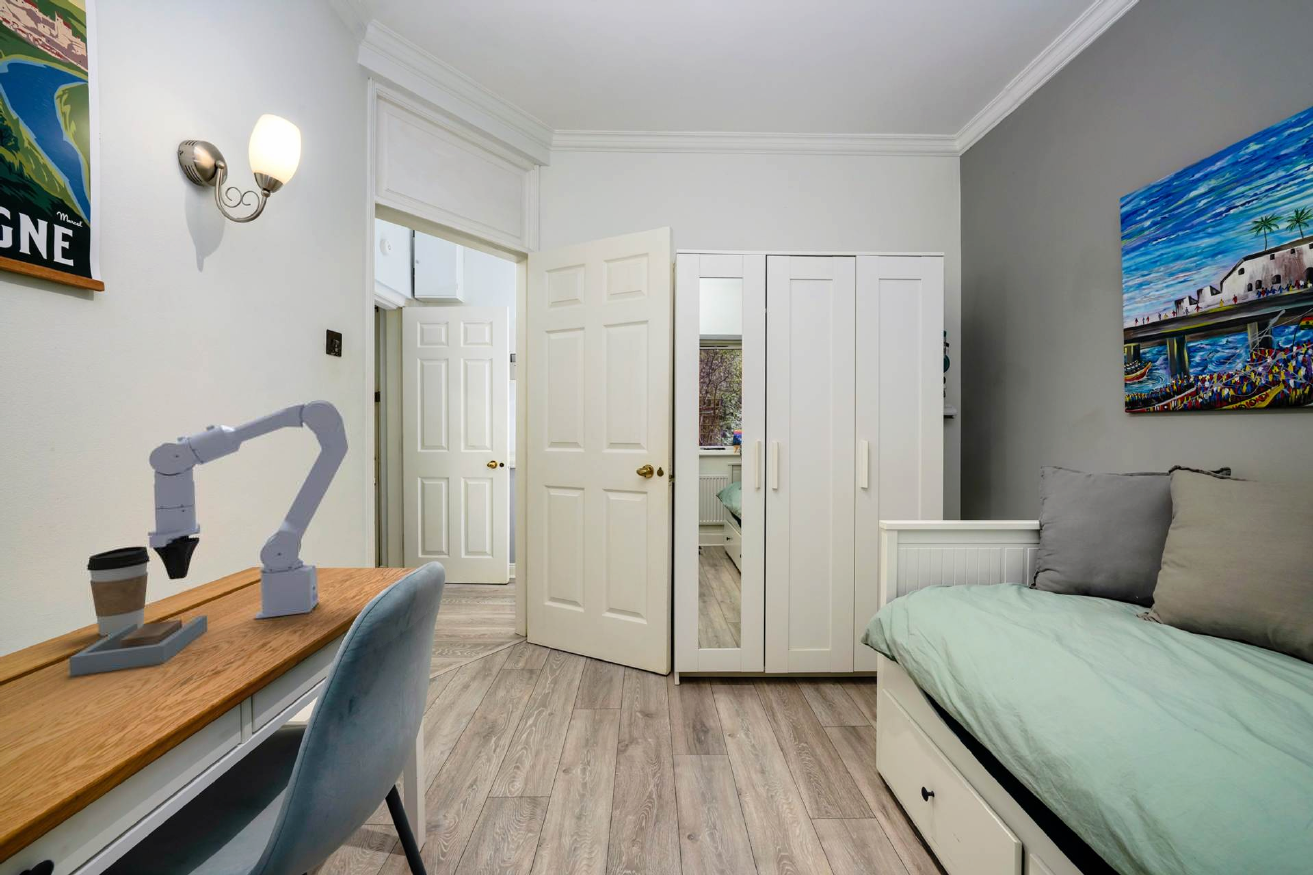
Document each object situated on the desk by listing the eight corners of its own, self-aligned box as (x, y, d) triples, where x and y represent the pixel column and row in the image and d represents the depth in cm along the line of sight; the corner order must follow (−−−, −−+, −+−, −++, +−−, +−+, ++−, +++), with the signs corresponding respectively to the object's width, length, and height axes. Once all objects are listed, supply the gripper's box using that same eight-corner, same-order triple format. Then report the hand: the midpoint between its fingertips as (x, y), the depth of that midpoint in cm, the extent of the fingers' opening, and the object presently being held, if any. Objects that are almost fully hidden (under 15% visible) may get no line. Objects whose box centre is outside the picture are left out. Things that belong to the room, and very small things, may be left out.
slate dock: (207, 629, 100) (206, 615, 100) (164, 663, 86) (163, 645, 86) (129, 639, 97) (128, 623, 97) (70, 675, 82) (69, 657, 82)
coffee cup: (164, 622, 105) (161, 545, 105) (117, 638, 97) (114, 556, 97) (125, 621, 106) (123, 546, 106) (75, 638, 98) (72, 556, 98)
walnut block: (182, 638, 97) (181, 619, 97) (160, 655, 90) (159, 634, 90) (147, 643, 95) (146, 623, 95) (121, 661, 88) (120, 639, 88)
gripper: (168, 503, 107) (171, 571, 108) (126, 513, 94) (129, 591, 94) (211, 501, 110) (214, 567, 110) (176, 510, 96) (179, 586, 96)
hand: (178, 578), depth 102 cm, fingers closed
